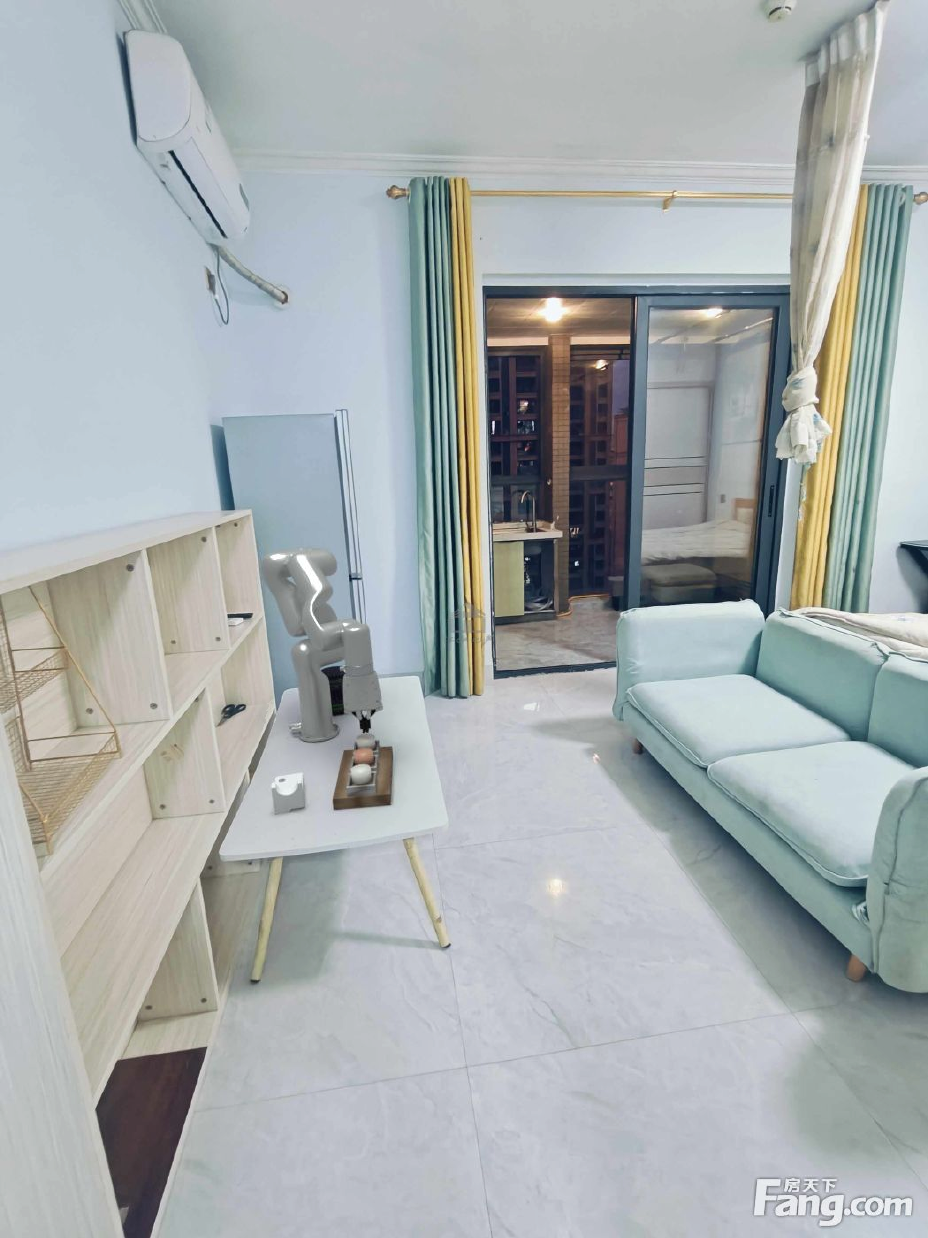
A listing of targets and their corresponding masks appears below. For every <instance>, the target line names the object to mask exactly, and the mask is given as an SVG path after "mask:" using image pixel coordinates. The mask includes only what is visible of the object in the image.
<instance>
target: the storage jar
mask: <svg viewBox="0 0 928 1238" xmlns="http://www.w3.org/2000/svg"><path fill="white" fill-rule="evenodd" d="M340 666H341V665H332V666H328V667H325V668H322V669H320V670H321V672H323V673H324V674H325V675H326V676H327V678H328V680H329V686H330V696H331V705H332V714H333V717H340V716H345V715H347V714H346V713H344V703H343V676H344V674H346V673H345V672H344V671H340ZM344 714H345V715H344Z"/></svg>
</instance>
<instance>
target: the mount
mask: <svg viewBox="0 0 928 1238" xmlns="http://www.w3.org/2000/svg"><path fill="white" fill-rule="evenodd" d="M380 741H381V740H380V739H377V740H376V739H375V748H374V749H372V750H373V759H374V762H373V764H371V765H370V767H371V776H372V780H371V781H370V782H369V783H367V784H363V785H356V784H353V783H352V779H351V768H352V767H354V766H355V761H354V752H355V751H356V750H357V749H358V748H357V741H355V742H354V746H353V749H352V748H351V749H344V750H343V752H342V756H341V760H340V765H339V770H338V773H337V774H338V775H337V778H336V783H335V786H334V787H335V788H334V792H333V796H332V805H333V811H338V810H348V809H349V810H350V809H360V808H371V807H381V806H391V805H392V787H393V784H392V783H393V782H392V781H393V765H394V764H393V762H394V751H393V746H392V745H390V746H389V745H388V746H381V742H380Z"/></svg>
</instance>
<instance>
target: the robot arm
mask: <svg viewBox="0 0 928 1238" xmlns="http://www.w3.org/2000/svg"><path fill="white" fill-rule="evenodd" d="M337 570H338V562H337V559H336V557H335V555H334V554H333V553H332V552H331V551H330V550H328V549H327V548H322V547H321V548H320V547H312V546H311V547H301V548H292V549H283V550H277V551H273V552H269V553H268V554H266V555H264V556H263V557H262V559H261V561H260V574H261V577H262V579H263V581H264V584H265V585H266V587H267V588H268V590H269V592H270V593H271V595H272V596H273V598H274V600H275V601H276V604H277V608H278V610H279V612H280V613H279V614H280V617H281V618H282V621H283V624H284V627H285V629H286V631H287V633H288V634H289V636H290V637H293V638H301V637H306V636H307V638H305V639H302V640H299V641H297V642H296V643H294V644H293V646H292V647H291V649H290V658H291V661H292V665H293V669H294V670H295V676H296V683H297V690H298V697H299V704H300V705H299V707H300V713H301V714H300V715H301V721H299V722H289V724H288V728H289V730H291V732H297V731H298V737H299V739H300V740H301V741H304V742H307V743H308V742H309V743H318V742H319V743H320V742H323V741H324V742H325V741H327V740H330V739H333V738H334V737H336V736H337V735H338V734H339V733H340V728H339V725H338V724H336V723H334V716H333V714H332V705H331V696H330V686H329V680H328V678H327V676H326V675H325V674H324V673H323V672H321V670H322V669H321V668H323V667H325V666H330V665H333V664H336V663H339V662H342V661H344V664H343V665H339V666H340V671H344V672H345V673H346V674H344V676H343V703H344V713H346V714H345V715H347V714H348V715H352V716H354V717H355V718H357V720H358V722H359V730H362V734H365V733H370V729H372V721H371V718H372V717H373V715H375V714H376V713H378V712H381V711H384V705H383V703H382V691H381V685H380V681H379V677H378V674H377V671H376V670H374V669H375V668H374V662H373V651H372V650H373V648H372V638H371V630H370V626H369V625H368V624H366V623H362V622H359V621H358V620H356V619H355V618H351V617H349V618H343V619H338V617H337V614H336V611H335V609H334V608H333V607H332V605H330V604H329V603H328V601H329V600H330V599H331V598H332V596H333V594H334V588H333V586H332V585H331V583H330V582H329V580H328V578H327V577H331V576H333V575H335V574H336V572H337ZM288 578H292V580H293V582H292V580H290V579H288ZM364 712H366V714H365V715H364V714H363V713H364Z"/></svg>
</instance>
